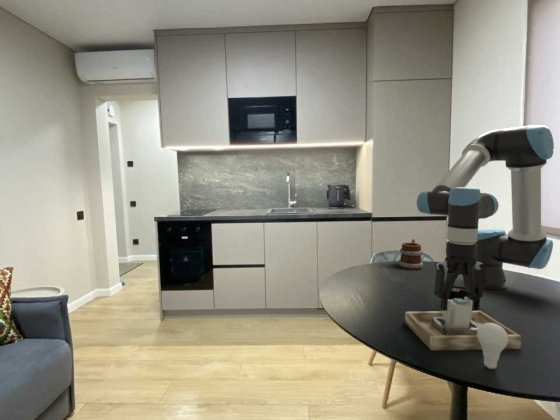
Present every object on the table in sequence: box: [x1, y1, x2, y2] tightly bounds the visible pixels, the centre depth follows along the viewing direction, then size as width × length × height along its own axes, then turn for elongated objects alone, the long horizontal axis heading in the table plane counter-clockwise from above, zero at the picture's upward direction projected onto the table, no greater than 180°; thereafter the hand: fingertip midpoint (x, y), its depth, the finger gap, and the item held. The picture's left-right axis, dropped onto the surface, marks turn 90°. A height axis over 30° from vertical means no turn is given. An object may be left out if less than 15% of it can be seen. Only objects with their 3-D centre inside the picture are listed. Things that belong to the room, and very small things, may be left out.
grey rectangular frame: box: [431, 317, 480, 336], centre depth 91 cm, size 11×8×2 cm
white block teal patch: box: [445, 298, 472, 328], centre depth 91 cm, size 4×4×9 cm
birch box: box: [404, 310, 522, 351], centre depth 90 cm, size 24×16×4 cm, turn 92°
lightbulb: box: [477, 323, 508, 370], centre depth 74 cm, size 6×6×11 cm
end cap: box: [449, 284, 481, 311], centre depth 110 cm, size 10×7×7 cm
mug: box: [397, 238, 424, 271], centre depth 160 cm, size 12×14×15 cm
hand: (456, 320), depth 91 cm, fingers open, 5 cm apart
